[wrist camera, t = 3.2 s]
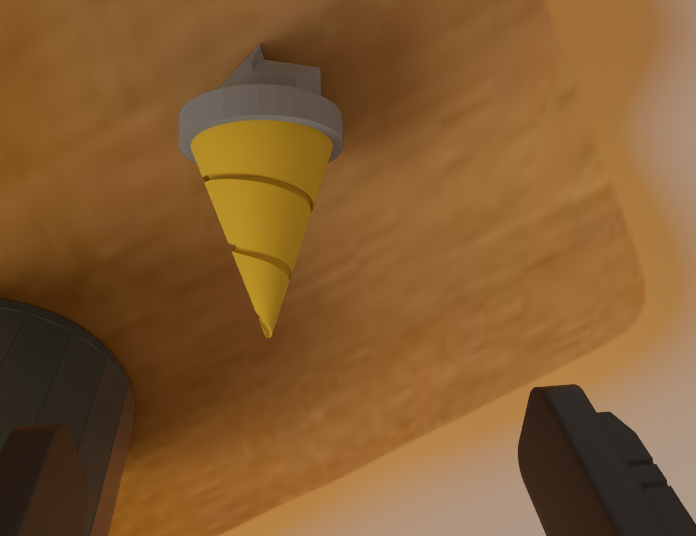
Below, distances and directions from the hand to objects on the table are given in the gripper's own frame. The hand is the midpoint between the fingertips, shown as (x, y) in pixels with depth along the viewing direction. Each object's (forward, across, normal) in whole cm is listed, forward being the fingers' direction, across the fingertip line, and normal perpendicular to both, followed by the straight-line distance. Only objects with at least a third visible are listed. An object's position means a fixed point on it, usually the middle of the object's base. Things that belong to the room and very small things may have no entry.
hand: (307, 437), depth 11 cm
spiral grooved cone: (+15, 0, 0) cm, 15 cm away
